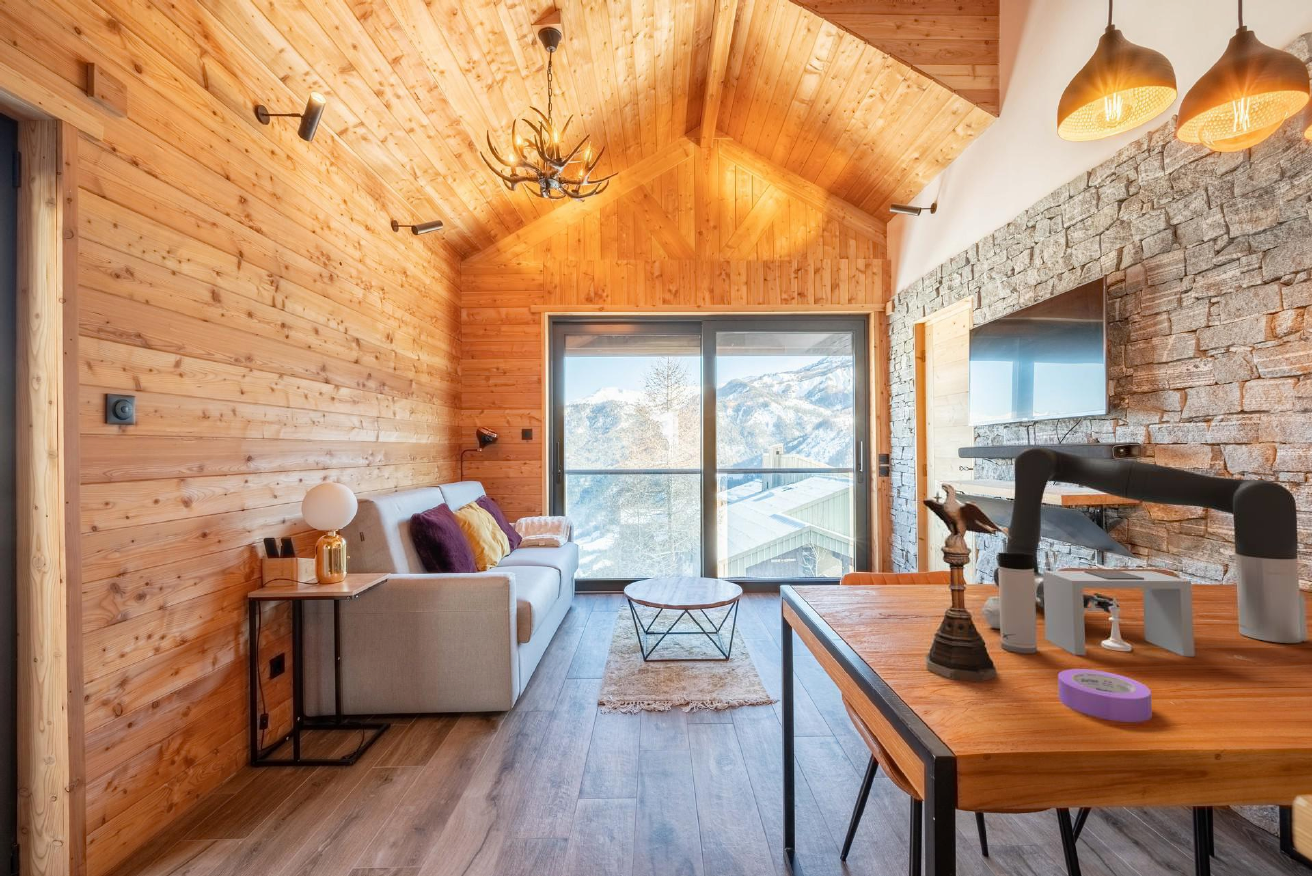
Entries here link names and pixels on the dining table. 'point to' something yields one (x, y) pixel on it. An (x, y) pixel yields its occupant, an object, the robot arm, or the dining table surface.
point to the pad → (1113, 575)
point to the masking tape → (1105, 695)
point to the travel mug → (1017, 602)
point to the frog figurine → (992, 612)
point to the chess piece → (1115, 631)
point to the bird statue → (960, 595)
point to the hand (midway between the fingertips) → (1096, 610)
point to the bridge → (1161, 593)
